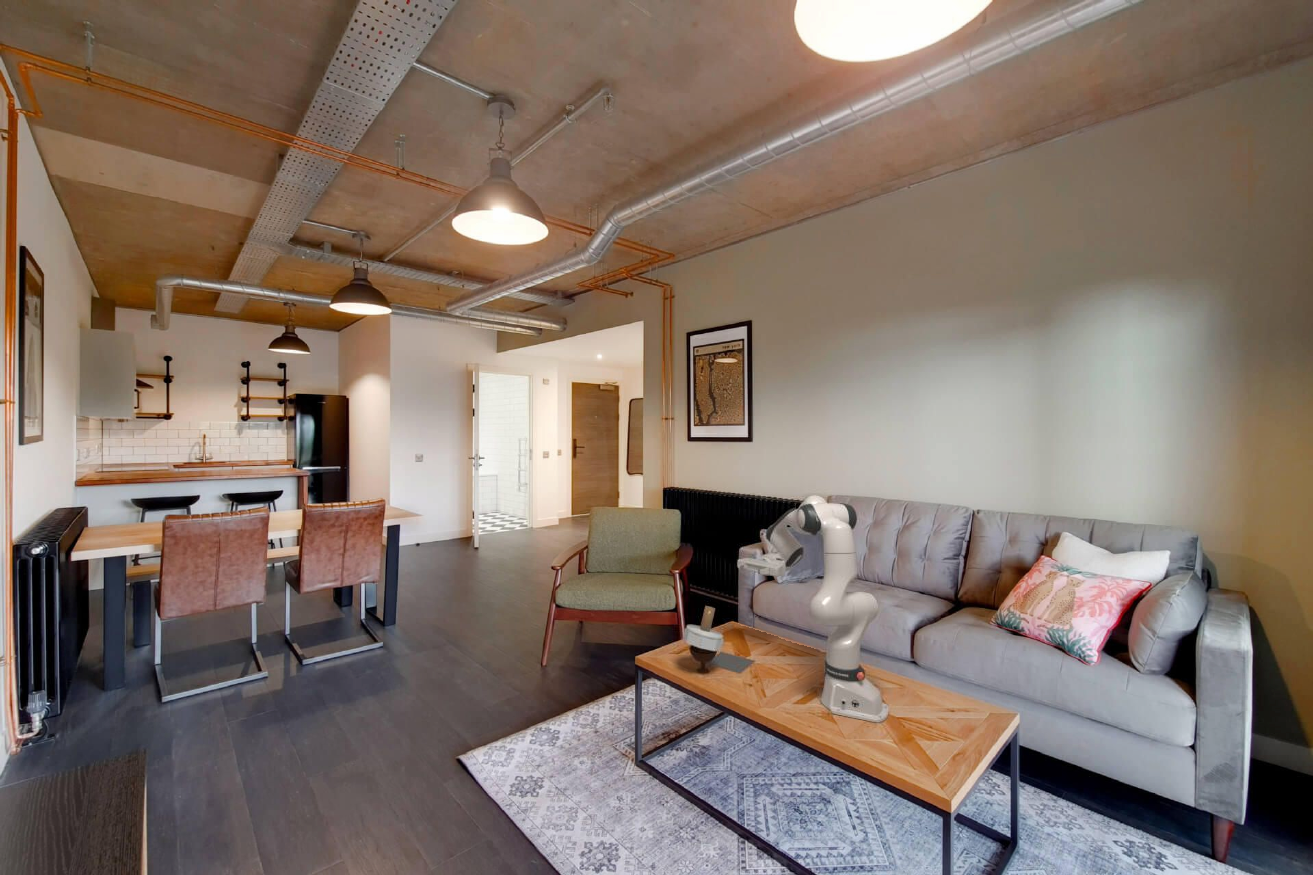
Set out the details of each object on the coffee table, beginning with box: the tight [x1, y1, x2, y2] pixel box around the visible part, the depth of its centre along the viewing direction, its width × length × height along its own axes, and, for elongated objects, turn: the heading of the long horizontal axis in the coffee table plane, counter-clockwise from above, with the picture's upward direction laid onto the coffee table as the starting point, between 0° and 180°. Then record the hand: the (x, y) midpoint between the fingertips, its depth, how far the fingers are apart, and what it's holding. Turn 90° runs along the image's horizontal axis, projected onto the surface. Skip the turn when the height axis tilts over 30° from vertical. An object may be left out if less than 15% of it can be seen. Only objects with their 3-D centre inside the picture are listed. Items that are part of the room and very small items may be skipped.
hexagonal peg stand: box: [681, 605, 725, 652], centre depth 222 cm, size 15×15×14 cm
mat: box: [705, 651, 756, 674], centre depth 230 cm, size 16×15×1 cm
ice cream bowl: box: [689, 644, 718, 675], centre depth 221 cm, size 11×11×15 cm
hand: (749, 569), depth 233 cm, fingers open, 8 cm apart
